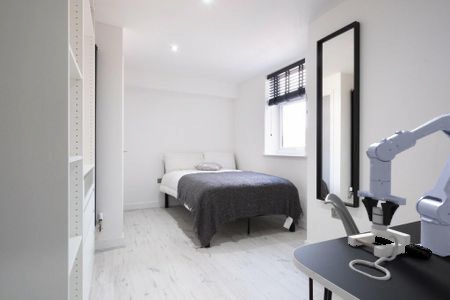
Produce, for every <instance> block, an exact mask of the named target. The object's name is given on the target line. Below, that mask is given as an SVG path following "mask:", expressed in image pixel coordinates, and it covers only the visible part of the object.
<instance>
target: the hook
mask: <svg viewBox="0 0 450 300" xmlns="http://www.w3.org/2000/svg"><path fill="white" fill-rule="evenodd" d="M389 238H394V240H395V250H394V253H393V255H392V256H390V257H383V258H379V259H377V260H376V261H375V262H371V261H368V260H362V259H354V260H351V261H350V262H349V264H348V266H349V268H350V269H352V270H353V271H354V272H357V273H360V274H362V275H364V276H366V277H369V278H371V279H375V280H379V281H388V280H390V278H391V277H392V276H391V272H390V271H389V270H388V269H387V268H386V267H385V268H384V267H383V266H381V265H379V264H381V263H383V262H384V261H387V262H390V261H393V260H394V259H396V257H397V256H398V254H397V252H398V239H397V237H396V236H395V235H390V236H389ZM355 264H364V265H368V266H370V267H375V268H376V269H378V270H381V271H382V272H384V274H386V275H385V276H381V277H379V276H374V275H371V274H369V273H367V272H364V271H361V270H359V269H357V268H355V267H354V266H353V265H355Z"/></svg>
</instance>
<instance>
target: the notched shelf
mask: <svg viewBox="0 0 450 300" xmlns="http://www.w3.org/2000/svg"><path fill="white" fill-rule="evenodd" d="M390 235H395V236H396V237H397V239H398V252H397V255H400V254H401V253H402V254H405V246H406V245H409V244H410V245H411V235H410V234H407V233H404V232H401V231H397V230H394V229H390V228H389V227H387V230H386V231H382V230H377V229H374V228H372V224H371V225H370V232H367V233H361V234H355V235H349V236H347V244H348V245H349V244H350V246H352V247H357V246H363V245H364V246H367V247H368V248H372V249H373V255H374V257H375V256H376V257H377V258H379V259H380V258H383V257H387V258H389V257H392V255H393V253H394V250H395V240H394V238H389V236H390ZM376 236H377V237H382V238H385V239H388V240H390V241H392V242H394V243H391V244H386V245H383V244H381V245H376V244H374V243H376V242H375V237H376ZM356 245H357V246H356Z"/></svg>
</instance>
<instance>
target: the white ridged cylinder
mask: <svg viewBox="0 0 450 300" xmlns="http://www.w3.org/2000/svg"><path fill="white" fill-rule="evenodd" d="M372 214H373V220H372V222H371V223H372V224H371V225H372V228H374V229H377V230H382V231H386V230H387V228H388V226H384V225H383V211H382V207H381V206H377V207H373V212H372Z"/></svg>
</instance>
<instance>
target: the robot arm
mask: <svg viewBox="0 0 450 300" xmlns="http://www.w3.org/2000/svg"><path fill="white" fill-rule="evenodd" d="M439 131H441V132H442V133H443V134H444V135H445V136H447V137H448V139H450V112H445V113H443V114H441V115H438V116H435V117H434V118H432V119H430V120H428V121H426V122H424V123H423V124H421V125H419V126H417V127H416V128H413V129H412V130H410V131H408V130H396V131H395V132H394V134H393V135H391V136H389V137H387V138H386V137H384V138H382V139H380V142H375V143H372V144H371V145H369V147H368V148H367V151H365V154H366V156H367V158H368V159H369V191H368V190H363V189H362V190H357V197H362V199H361V202H362V204H363V207H364V208H365V211H366V214H367V217H368V220H369V222H371V223H372V220H373V214H372V212H373V207H378V204H379V201H381V203H380V207H382V211H383V225H384V226H387V227H389V226H391V223H392V220H393V217H394V215H395V213H396V211H397V210H398V209H399V208H400V206H406V205H407V198H405V197H401V196H397V195H393V194H392V161H393V160H394V159H395V158H396V156H397V155H398V154H401V153H402V152H404V151H406V150H409V149H411V148H413V147H415V146H416V144H417V141H418V140H420V139H423V138H425V137H427V136H430V135H432V134H434V133H437V132H439ZM415 211H416V212H417V214H419V215H420V216H419V218H420V243H418V244H416V245H420V246H423V247H426V248H428V249H430V250H431V251H432V253H431V254H434V255H438V256H440V257H447V256H450V154H449V155H448V158H447V159H446V161H445V164H444V165H443V168H442V170H441V172H440V173H439V176H438V178H437V180H436V182H435V183H434V186H433V188H431V189H430V190H428V191H426V192H424V193H423V195H422V197H421V198H419V199H418V200H417V202H416V203H415Z"/></svg>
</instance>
